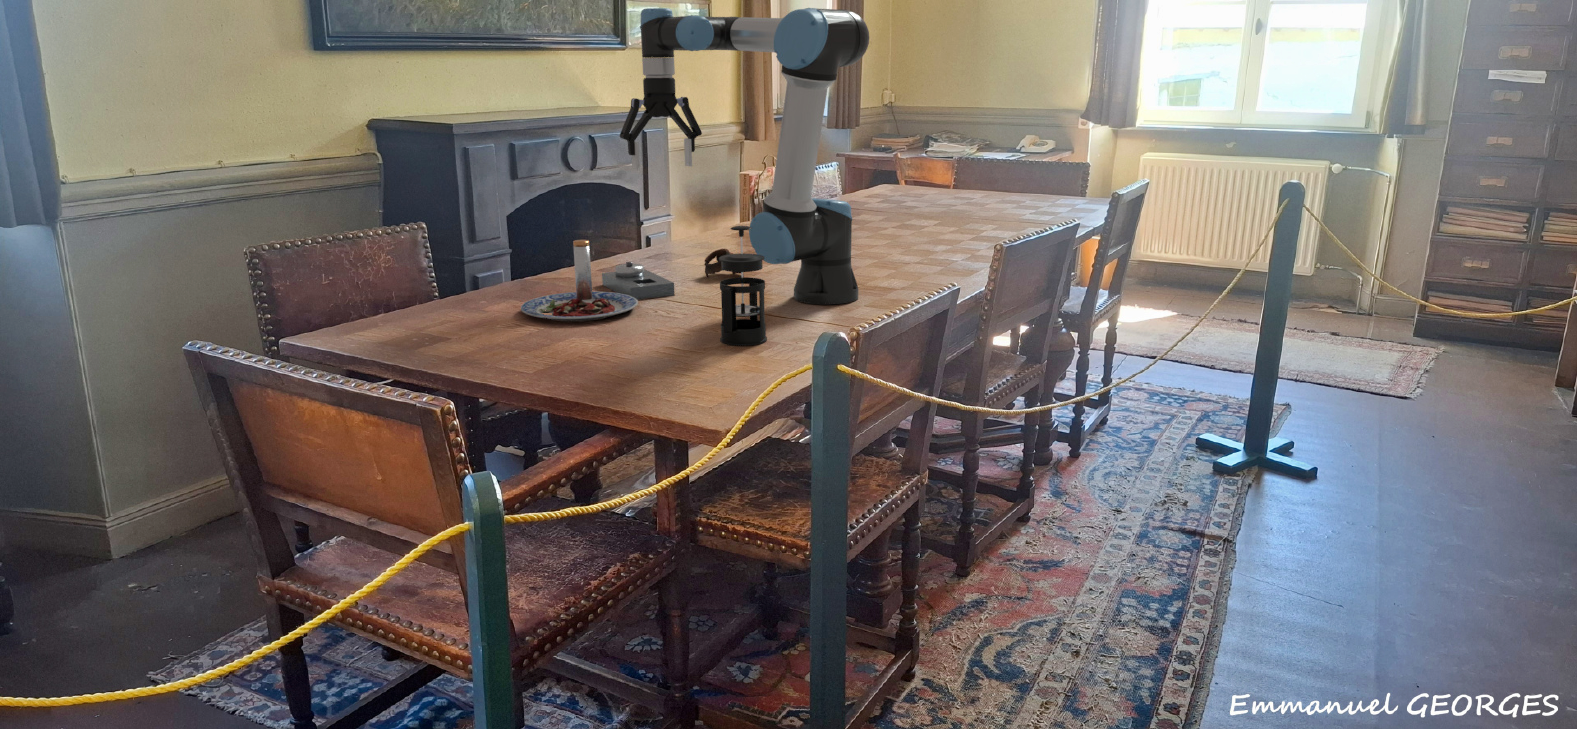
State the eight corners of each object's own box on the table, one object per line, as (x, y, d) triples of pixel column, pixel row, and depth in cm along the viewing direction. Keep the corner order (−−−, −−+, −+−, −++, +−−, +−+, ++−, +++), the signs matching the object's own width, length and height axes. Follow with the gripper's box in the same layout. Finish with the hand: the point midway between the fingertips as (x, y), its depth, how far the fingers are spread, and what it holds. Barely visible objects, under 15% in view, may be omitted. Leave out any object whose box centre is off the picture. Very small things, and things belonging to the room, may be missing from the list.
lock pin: (594, 298, 243) (591, 241, 240) (579, 300, 242) (576, 242, 238) (589, 295, 246) (586, 239, 243) (574, 297, 245) (571, 240, 241)
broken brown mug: (749, 281, 276) (734, 255, 271) (716, 297, 277) (701, 272, 272) (743, 260, 286) (729, 235, 281) (711, 276, 287) (696, 252, 282)
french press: (736, 331, 224) (733, 220, 218) (776, 336, 220) (775, 223, 214) (707, 345, 214) (703, 229, 208) (748, 350, 210) (746, 232, 204)
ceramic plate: (655, 303, 251) (655, 291, 251) (609, 330, 228) (608, 317, 227) (555, 298, 258) (554, 285, 257) (499, 323, 234) (498, 310, 234)
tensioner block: (674, 295, 258) (673, 270, 257) (630, 300, 253) (629, 275, 252) (644, 280, 275) (642, 256, 273) (602, 284, 270) (601, 261, 268)
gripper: (700, 75, 266) (703, 163, 272) (603, 77, 254) (608, 168, 260) (713, 75, 259) (716, 165, 265) (614, 78, 248) (619, 171, 254)
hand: (662, 167), depth 263 cm, fingers open, 13 cm apart
